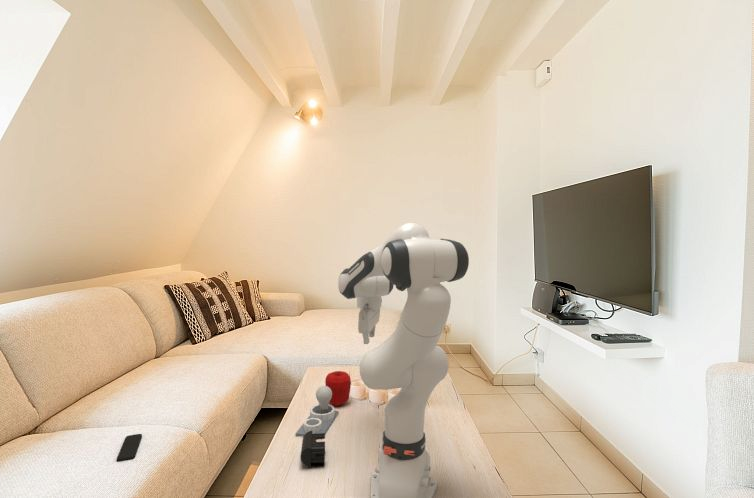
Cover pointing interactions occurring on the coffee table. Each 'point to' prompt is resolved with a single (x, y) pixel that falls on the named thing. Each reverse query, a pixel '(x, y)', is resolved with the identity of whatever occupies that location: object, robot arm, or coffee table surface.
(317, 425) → the socket board
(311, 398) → the coffee table surface
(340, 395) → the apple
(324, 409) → the lightbulb
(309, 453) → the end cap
